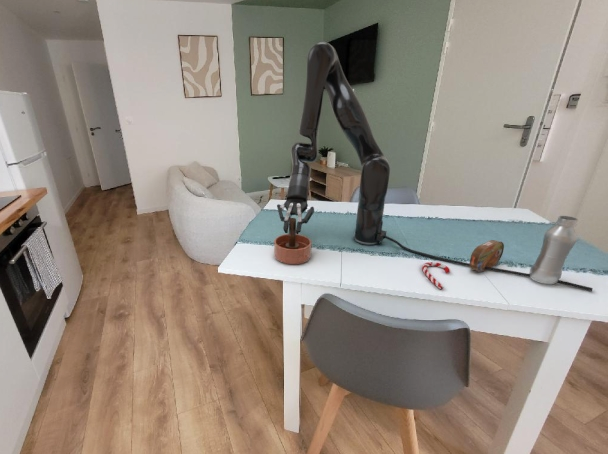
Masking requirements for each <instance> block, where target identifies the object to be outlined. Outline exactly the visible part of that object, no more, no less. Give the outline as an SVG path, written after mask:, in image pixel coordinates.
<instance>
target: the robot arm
mask: <svg viewBox="0 0 608 454" xmlns="http://www.w3.org/2000/svg"><path fill="white" fill-rule="evenodd" d="M324 90H325V91H326V94H327V96H328V101H329V103H330V104H329V105H330V107H331V110H332V113H333V116H334V118H335V120H336V122H337V124H338V127H339V128H340V130H341V132H342V134H343V135H344V136H345V138H346V139H347V140H348V142H349V143H350V144H351V145H352V148H354V150H355V152H356V155H357V157H358V159H359V162H360V165H361V172H360V183H359V191H358V200H357V201H358V203H357V209H356V210H357V211H356V220H355V228H354V237H353V240H354V241H355V242H356V243H358V244H360V245H364V246H376V245H381V242H383V241H384V240H385V239H386V240H389V241H390V242H392V243H395V244H396V245H397V246H398V247H400V248H401V249H403V250H405V251H406V252H410V253H413V254H416V255H420V256H424V257H428V258H431V259H435V260H439V261H443V262H447V263H451V264H457V265H462V266H467V267H470V266H469V264H470V262H464V261H458V260H455V259H449V258H445V257H441V256H436V255H434V254H429V253H426V252H423V251H422V252H421V251H418V250H415V249H411V248H408V247H407V246H404V245H403V244H402V243H400V241H398V240H396V239H394V238H392V237H389V236H387V230H383V226H384V225H383V224H384V220H383V219H384V213H385V211H384V210H385V204H386V198H387V193H388V187H389V181H390V177H391V166H390V162H389V160H388V159H387V157H386V156H385V154H384V152H383V151H382V149H381V148H380V146H379V144H378V143H377V141H376V139H375V137H374V134H373V130H372V128H371V124H370V121H369V119H368V117H367V114H366V112H365V110H364V107H363V105H362V103H361V101H360V100H359V97H358V96H357V94H356V93H355V91H354V89H353V88H352V86H351V85H350V83H349V81H348V80H347V77H346V75H345V73H344V71H343V67H342V64H341V63H340V59H339V55H338V52H337V51H336V48H335V47H334V46H333V45H331V44H330V43H329V42H326V41H319V42H316V43H314V44H313V45H312V46H311V47H310V49H309V51H308V52H307V57H306V84H305V93H304V100H303V107H302V111H301V116H300V117H301V118H300V123H299V128H298V133H299V135H300V136H302V137H303V138H306V139H309V141H310V142H309V143H308V142H302V141H296V142H294V143H293V144H292V145H291V147H290V157H291V164H292V168H291V175H290V179H289V182H288V188H287V192H286V198H285V199H286V200H285V202H284V203H282V204H277V205H276V208H277V212H278V217H279V219H280V222H283V227H282V230H283V232H284V233H285V234H289V219H290V218H292V217H293V216H297V221H296V234H299V235H300V233H301V232H302V226H303V224H308V223H309V221H310V219H311V218H312V216H313V214H314V213H315V207H314V206H309V204H308V199H309V192H310V187H311V186H310V184H311V182H310V180H311V173H312V167H311V165H310V164H309V163H311V164H312V163H315V162H316V161H317V160H318V157H319V143H318V142H319V141H318V140H319V128H320V124H321V120H322V114H323V112H322V111H323V101H324V100H323V99H324V92H325V91H324ZM284 210H286V213H285V216H284V213H283V211H284ZM306 211H307V213H306V214H305V216H304V218H303V213H305V212H306ZM485 269H487V270H488V271H492V272H493V271H494V272H499V273H505V274H511V275H517V276H522V277H528V278H531V277H530V275H529V273H527V272H526V273H525V272H521V271H515V270H510V269H503V268H497V267H485ZM487 270H486V271H487ZM557 284H561V285H565V286H569V287H573V288H577V289H581V290H586V291H588V292H589V291H590V292H592V291H593V290H594V289H593V287H591V286H586V285H581V284H578V283H573V282H569V281H565V280H561V279H560V280H559V281H558V282H557Z"/></svg>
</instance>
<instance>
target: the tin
mask: <svg viewBox="0 0 608 454" xmlns="http://www.w3.org/2000/svg"><path fill="white" fill-rule="evenodd" d="M504 249H505V243H504V242H502V241H499V240H494V239H491V240H488V241H486V242H484V243H482V244H480V245H478V246H476V247H475V248H474V249H473V250H472V252H471V253H470V260H469V263H470V264H469V266H468V267H469V268H470V269H471V270H473V271H476V272H478V273H483V272H485V271H487V269H485V267H492V268H494V267H495V266H496V265H497V264H498V263H499V262H500V260H501V258H502V257H503V254H504V251H505V250H504Z"/></svg>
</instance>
